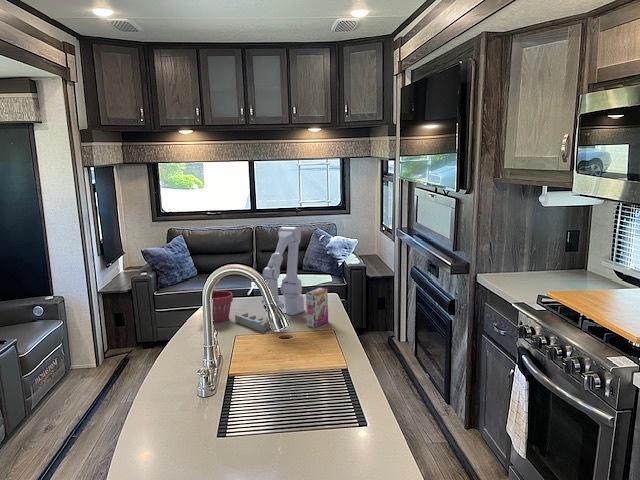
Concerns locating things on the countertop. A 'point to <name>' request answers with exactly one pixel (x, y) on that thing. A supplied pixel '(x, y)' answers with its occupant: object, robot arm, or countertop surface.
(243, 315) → the grey comb rack
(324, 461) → the countertop surface
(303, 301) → the robot arm
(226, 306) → the plant pot
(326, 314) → the candy bar box
